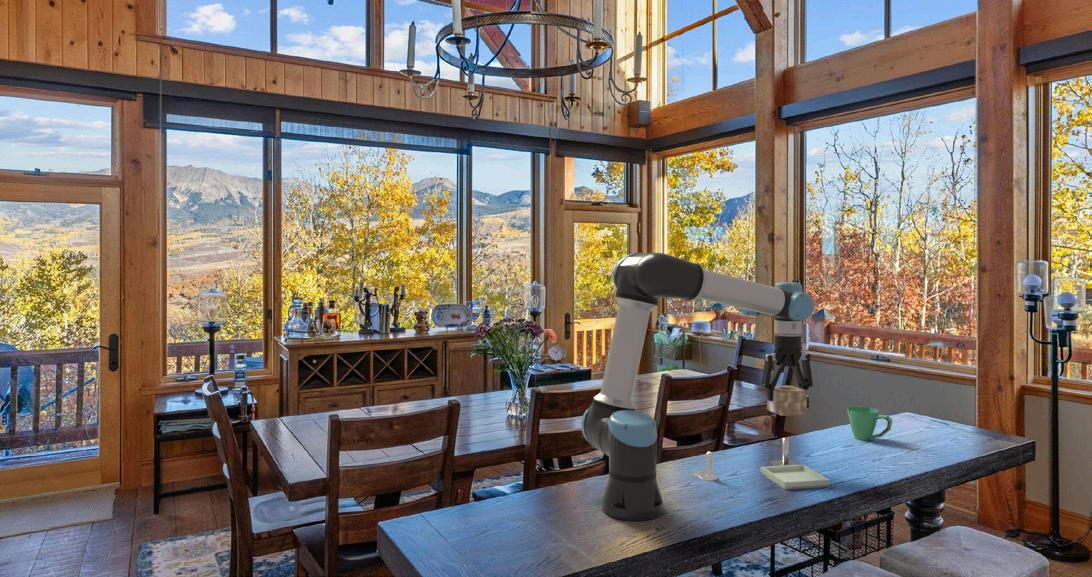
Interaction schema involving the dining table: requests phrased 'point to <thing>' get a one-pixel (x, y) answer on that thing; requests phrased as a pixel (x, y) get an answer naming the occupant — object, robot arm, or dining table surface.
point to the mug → (866, 422)
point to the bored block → (790, 400)
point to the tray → (795, 477)
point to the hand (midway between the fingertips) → (786, 411)
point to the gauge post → (784, 455)
